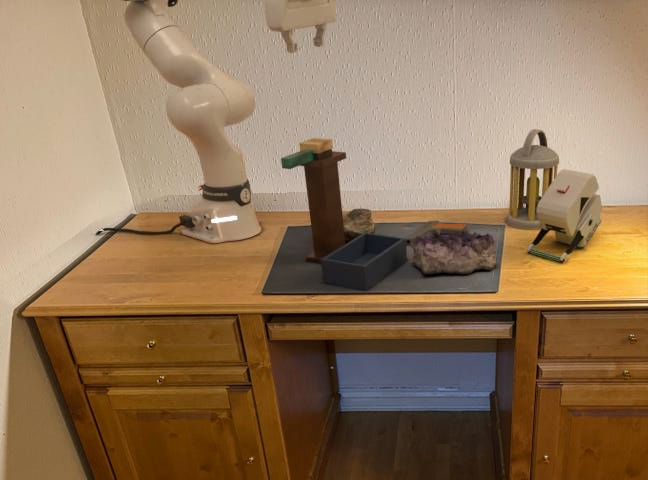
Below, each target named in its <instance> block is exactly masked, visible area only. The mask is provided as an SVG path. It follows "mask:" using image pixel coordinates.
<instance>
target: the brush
mask: <svg viewBox="0 0 648 480" xmlns="http://www.w3.org/2000/svg"><path fill="white" fill-rule="evenodd" d="M298 144H299V150H300V151H297V152H294V153H291V154H289V155H286V156H283V157H281V158H280V162H281V168H282V169H286V170H291V169H294V168H297V167H301V166H300V165H302V164H305V163H307V162H310V161H312V160H320V159H323V158H325V157H328V156H330V155H332V151H333V148H334V145H333V139H332V138H321V137H313V138H309V139H306V140H304V141H301V142H299V143H298Z"/></svg>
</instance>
